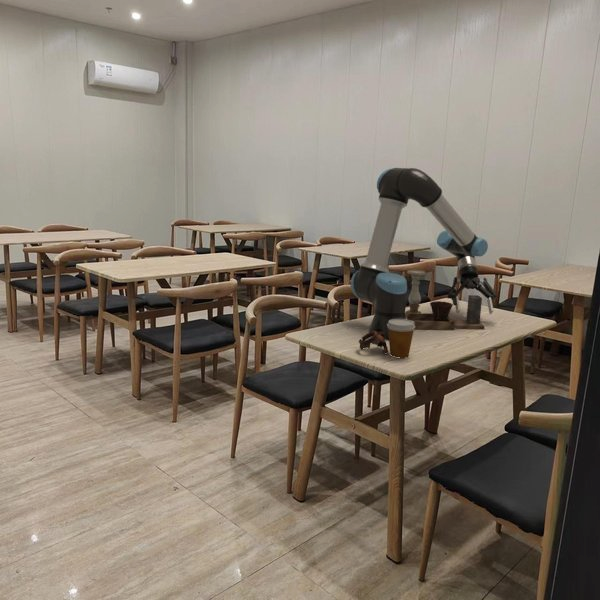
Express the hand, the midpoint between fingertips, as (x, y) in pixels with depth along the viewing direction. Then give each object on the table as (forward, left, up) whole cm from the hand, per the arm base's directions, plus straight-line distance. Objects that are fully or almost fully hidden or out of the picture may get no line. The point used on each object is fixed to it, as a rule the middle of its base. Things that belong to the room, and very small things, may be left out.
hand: (474, 312), depth 223 cm
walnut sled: (-11, +1, -6) cm, 13 cm away
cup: (-14, +1, -6) cm, 15 cm away
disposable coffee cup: (-37, -39, -6) cm, 55 cm away
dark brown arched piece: (-45, -35, -6) cm, 57 cm away
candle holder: (-22, +14, -6) cm, 27 cm away
